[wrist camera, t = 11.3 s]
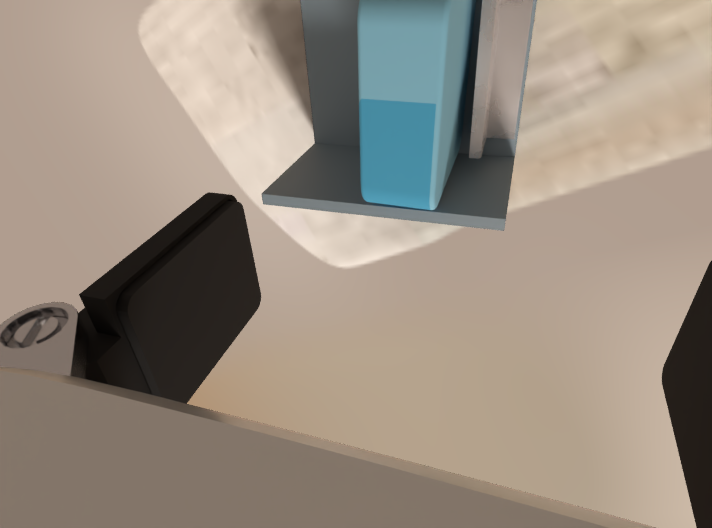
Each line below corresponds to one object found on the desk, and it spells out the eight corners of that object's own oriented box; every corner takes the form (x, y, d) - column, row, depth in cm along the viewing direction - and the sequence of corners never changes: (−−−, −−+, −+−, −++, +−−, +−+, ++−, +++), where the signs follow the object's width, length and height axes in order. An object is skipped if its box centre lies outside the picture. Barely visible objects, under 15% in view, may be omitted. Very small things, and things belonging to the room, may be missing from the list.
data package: (410, -32, 32) (354, -14, 23) (479, -32, 31) (450, -13, 22) (404, 142, 39) (359, 210, 30) (461, 147, 38) (432, 220, 28)
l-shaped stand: (543, -50, 31) (541, -38, 22) (514, 159, 39) (504, 230, 30) (304, -38, 35) (222, -26, 26) (322, 146, 43) (263, 204, 34)
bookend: (535, -16, 30) (534, -9, 27) (514, 137, 36) (510, 160, 33) (490, -15, 31) (482, -7, 28) (476, 135, 37) (468, 157, 33)
